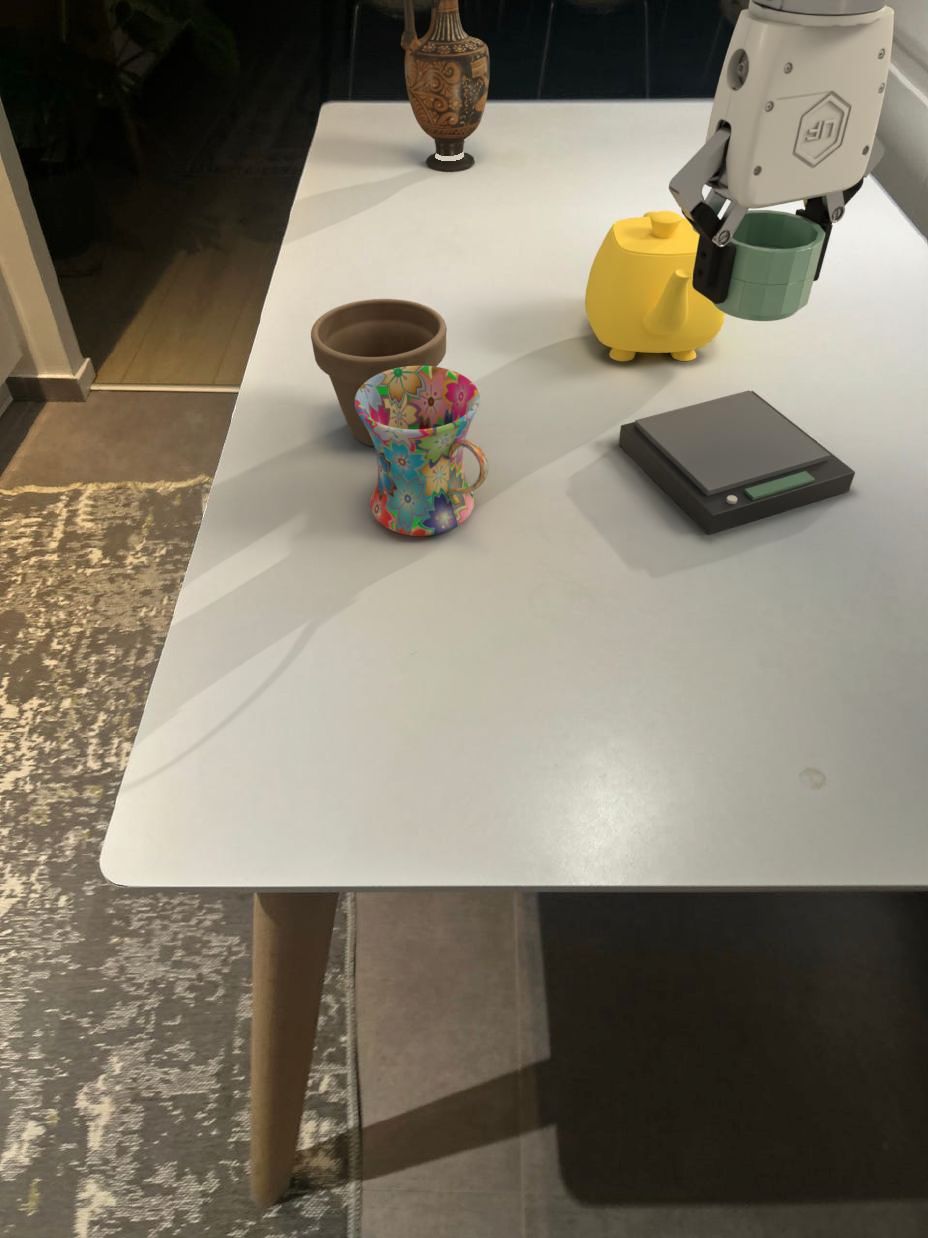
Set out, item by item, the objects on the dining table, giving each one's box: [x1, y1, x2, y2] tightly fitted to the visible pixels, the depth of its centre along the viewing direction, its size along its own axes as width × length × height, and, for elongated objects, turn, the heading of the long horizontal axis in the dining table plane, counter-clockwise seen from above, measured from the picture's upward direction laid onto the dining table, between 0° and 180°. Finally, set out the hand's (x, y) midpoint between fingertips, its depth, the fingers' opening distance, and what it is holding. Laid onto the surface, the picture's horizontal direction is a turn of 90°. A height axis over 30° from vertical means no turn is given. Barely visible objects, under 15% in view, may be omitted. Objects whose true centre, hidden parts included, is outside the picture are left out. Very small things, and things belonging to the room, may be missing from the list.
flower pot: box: [310, 298, 448, 447], centre depth 81 cm, size 12×11×10 cm
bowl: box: [713, 209, 825, 322], centre depth 63 cm, size 7×7×5 cm
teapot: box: [584, 210, 726, 362], centre depth 90 cm, size 14×20×13 cm
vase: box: [400, 0, 491, 172], centre depth 123 cm, size 12×12×30 cm
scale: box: [618, 390, 856, 535], centre depth 79 cm, size 14×14×3 cm
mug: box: [355, 366, 489, 537], centre depth 71 cm, size 12×9×11 cm
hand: (755, 282), depth 64 cm, fingers closed on bowl, 7 cm apart
